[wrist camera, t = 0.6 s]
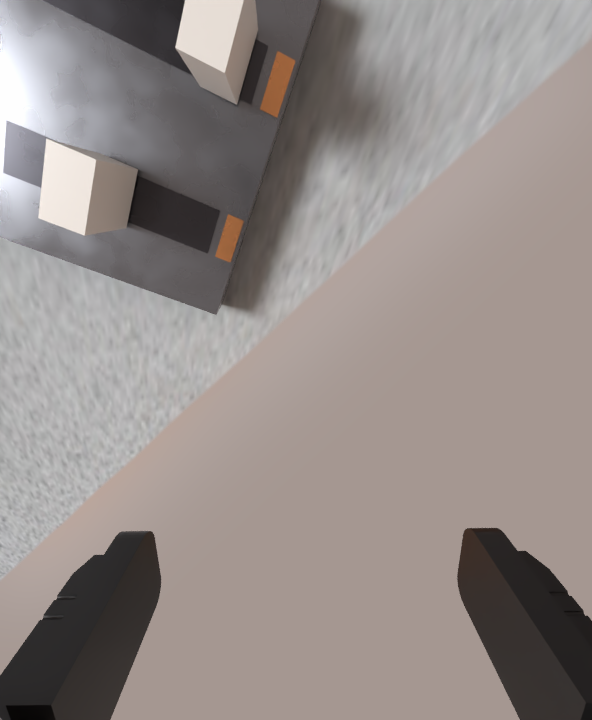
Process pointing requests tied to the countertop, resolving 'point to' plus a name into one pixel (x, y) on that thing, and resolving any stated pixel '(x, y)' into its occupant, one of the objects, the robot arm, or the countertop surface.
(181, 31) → the on handle
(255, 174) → the breaker panel
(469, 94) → the countertop surface
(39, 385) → the countertop surface
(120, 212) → the handle
